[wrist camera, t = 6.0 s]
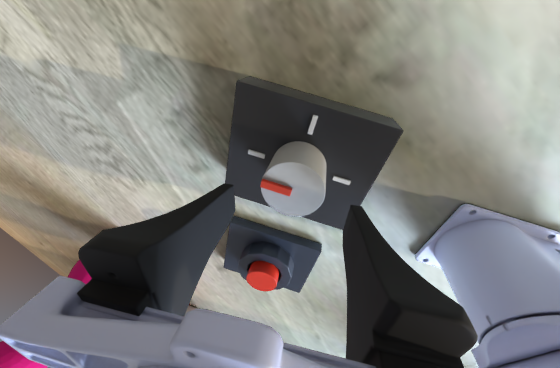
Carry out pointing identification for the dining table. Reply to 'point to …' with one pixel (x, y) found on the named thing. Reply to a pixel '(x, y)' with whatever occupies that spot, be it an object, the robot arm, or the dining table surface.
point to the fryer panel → (311, 129)
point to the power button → (263, 276)
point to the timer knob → (295, 179)
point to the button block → (270, 252)
